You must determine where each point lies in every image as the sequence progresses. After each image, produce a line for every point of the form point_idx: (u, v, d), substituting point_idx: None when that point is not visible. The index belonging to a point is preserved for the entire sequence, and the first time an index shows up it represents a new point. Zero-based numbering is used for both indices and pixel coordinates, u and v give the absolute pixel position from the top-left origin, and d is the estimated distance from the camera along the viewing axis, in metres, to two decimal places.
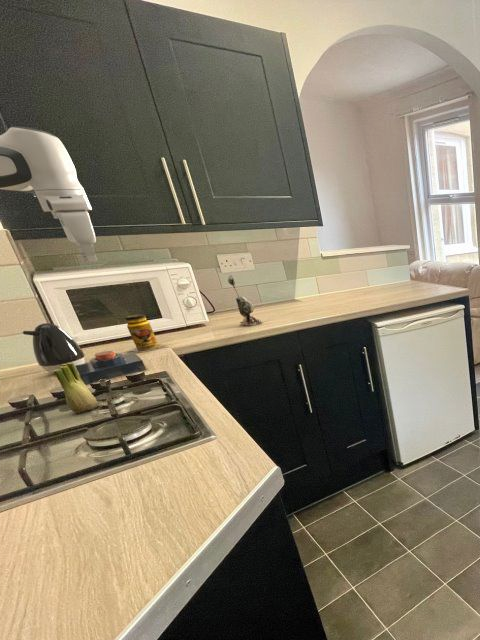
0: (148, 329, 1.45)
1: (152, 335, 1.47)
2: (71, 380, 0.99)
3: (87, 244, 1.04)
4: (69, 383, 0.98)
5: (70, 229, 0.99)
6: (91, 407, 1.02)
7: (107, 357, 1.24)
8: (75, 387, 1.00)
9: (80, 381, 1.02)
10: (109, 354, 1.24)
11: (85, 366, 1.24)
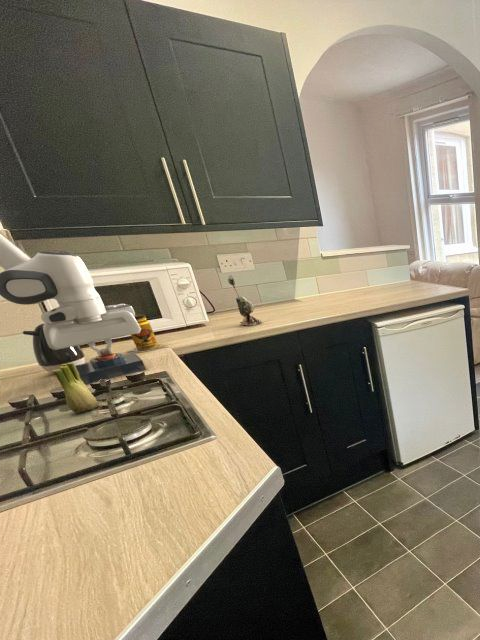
0: (148, 329, 1.45)
1: (152, 335, 1.47)
2: (71, 380, 0.99)
3: (87, 343, 1.21)
4: (69, 383, 0.98)
5: None
6: (91, 407, 1.02)
7: None
8: (75, 387, 1.00)
9: (80, 381, 1.02)
10: (110, 356, 1.24)
11: (85, 366, 1.24)
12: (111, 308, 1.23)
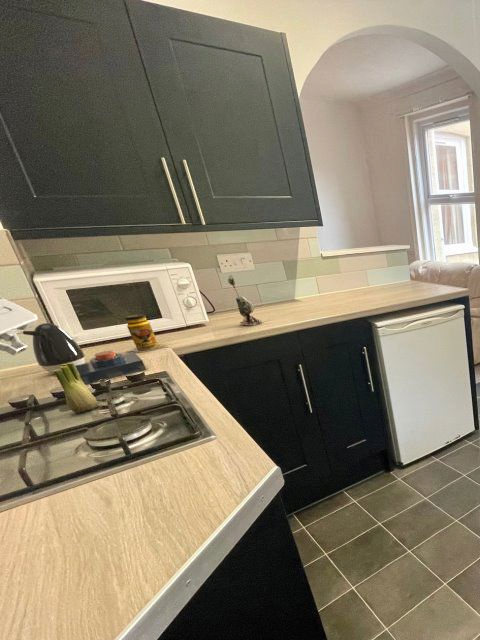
0: (148, 329, 1.45)
1: (152, 335, 1.47)
2: (71, 380, 0.99)
3: None
4: (69, 383, 0.98)
5: None
6: (91, 407, 1.02)
7: (107, 357, 1.24)
8: (75, 387, 1.00)
9: (80, 381, 1.02)
10: (109, 354, 1.24)
11: (85, 366, 1.24)
12: None
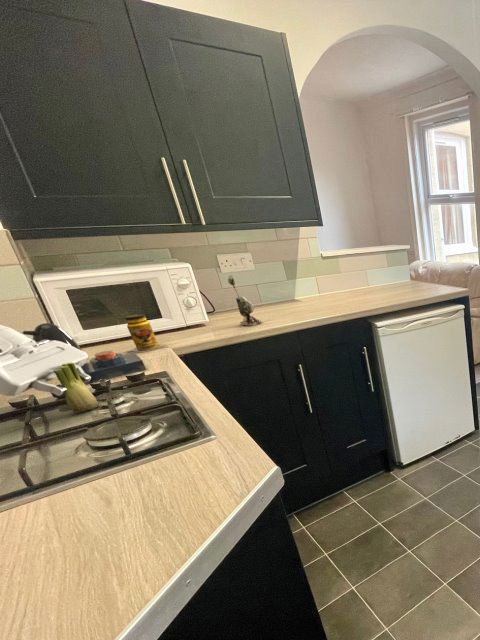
0: (148, 329, 1.45)
1: (152, 335, 1.47)
2: (71, 380, 0.99)
3: (35, 384, 0.94)
4: (69, 383, 0.99)
5: None
6: (91, 407, 1.02)
7: (107, 357, 1.24)
8: (76, 387, 1.00)
9: (80, 381, 1.02)
10: (109, 354, 1.24)
11: (85, 366, 1.24)
12: (37, 344, 1.01)
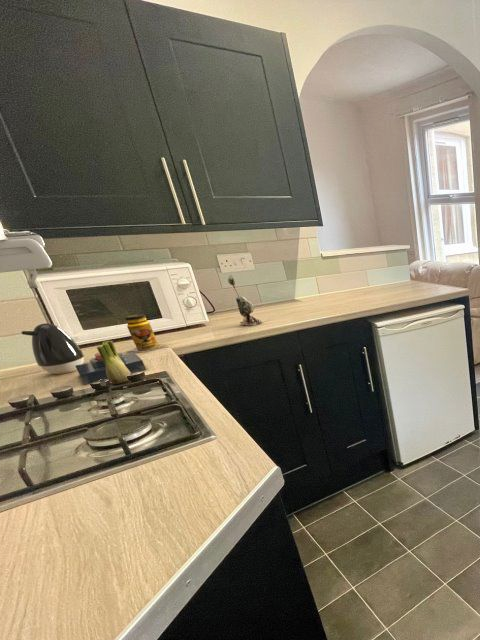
0: (148, 329, 1.45)
1: (152, 335, 1.47)
2: (111, 355, 1.15)
3: None
4: (109, 358, 1.15)
5: None
6: None
7: None
8: (114, 362, 1.16)
9: (118, 357, 1.18)
10: None
11: (85, 366, 1.24)
12: (12, 235, 1.05)
